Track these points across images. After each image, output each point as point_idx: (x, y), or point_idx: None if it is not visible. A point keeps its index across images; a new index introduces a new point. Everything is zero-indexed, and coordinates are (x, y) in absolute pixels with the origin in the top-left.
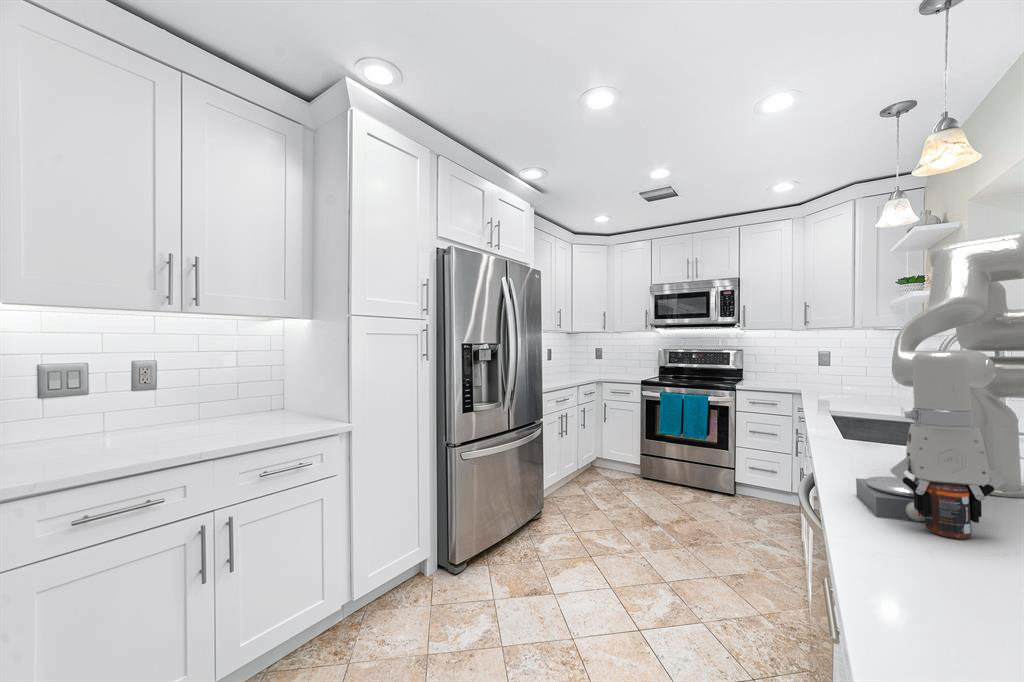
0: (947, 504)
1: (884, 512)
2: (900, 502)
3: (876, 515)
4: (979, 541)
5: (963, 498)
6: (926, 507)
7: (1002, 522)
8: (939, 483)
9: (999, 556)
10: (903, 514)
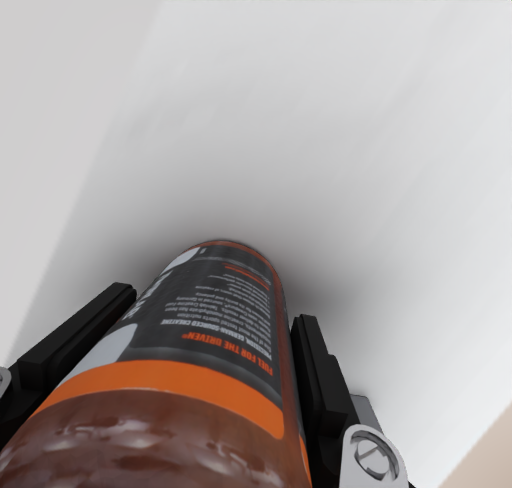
0: (235, 323)
1: None
2: None
3: (368, 401)
4: (159, 242)
5: (109, 356)
6: (315, 344)
7: None
8: None
9: (170, 99)
10: None
